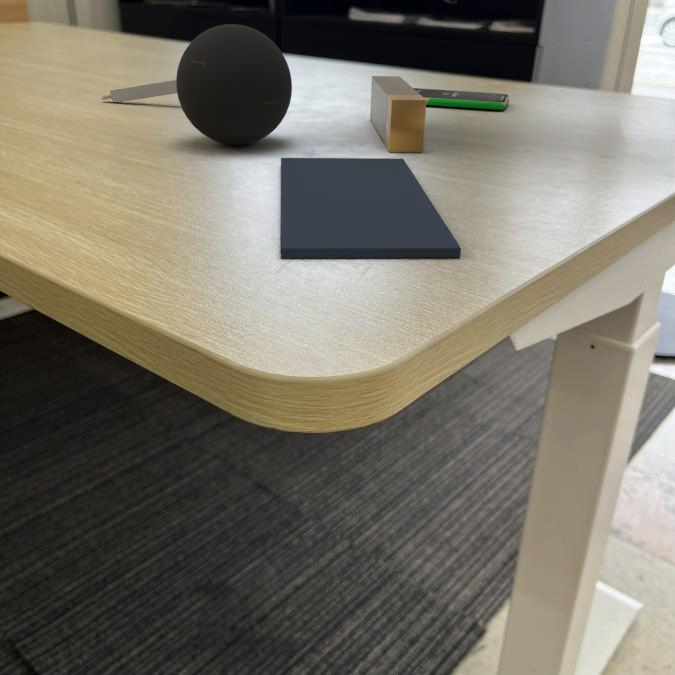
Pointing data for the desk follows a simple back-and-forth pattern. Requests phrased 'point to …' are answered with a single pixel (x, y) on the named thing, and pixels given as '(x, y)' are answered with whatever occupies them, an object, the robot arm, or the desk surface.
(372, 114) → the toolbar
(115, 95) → the caliper
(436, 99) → the smartphone
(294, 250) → the mat
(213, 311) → the desk surface
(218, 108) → the speaker
